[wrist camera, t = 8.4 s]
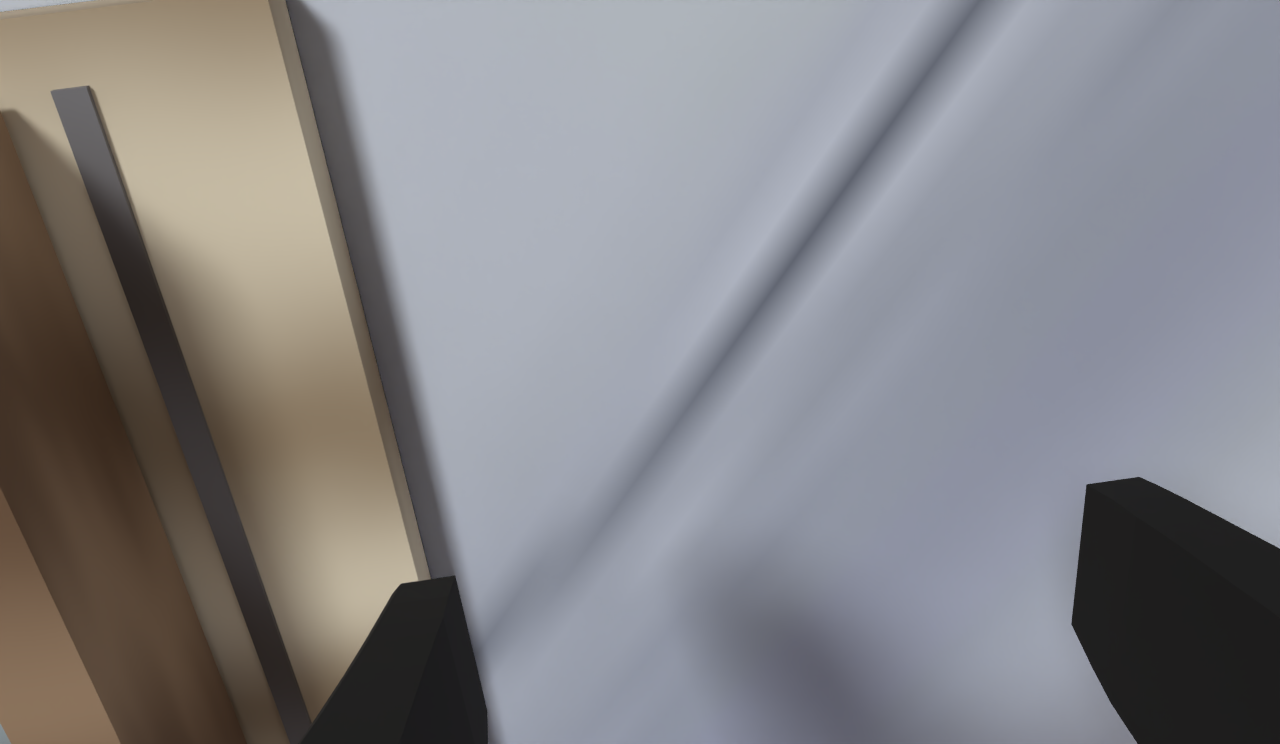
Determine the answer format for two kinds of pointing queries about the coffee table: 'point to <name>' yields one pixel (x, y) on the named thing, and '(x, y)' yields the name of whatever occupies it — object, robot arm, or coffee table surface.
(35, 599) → the tan cardboard box
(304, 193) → the birch board
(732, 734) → the coffee table surface
